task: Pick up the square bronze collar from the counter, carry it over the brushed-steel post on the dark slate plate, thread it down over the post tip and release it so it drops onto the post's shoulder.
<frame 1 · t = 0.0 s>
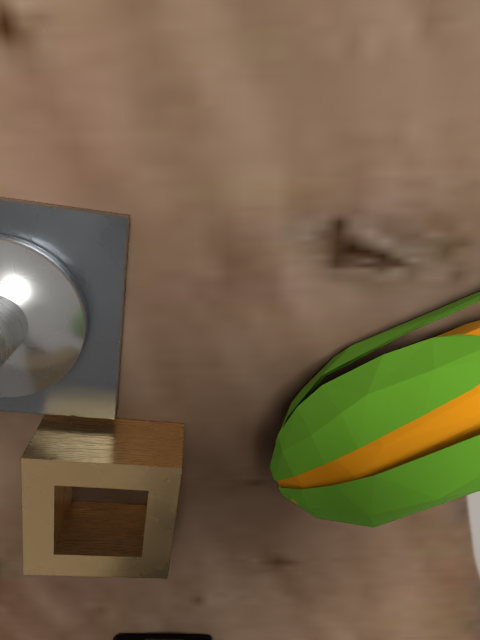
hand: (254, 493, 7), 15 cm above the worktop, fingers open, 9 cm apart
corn: (429, 349, 24), on the worktop
post: (12, 308, 21), on the worktop
collar: (112, 472, 24), on the worktop
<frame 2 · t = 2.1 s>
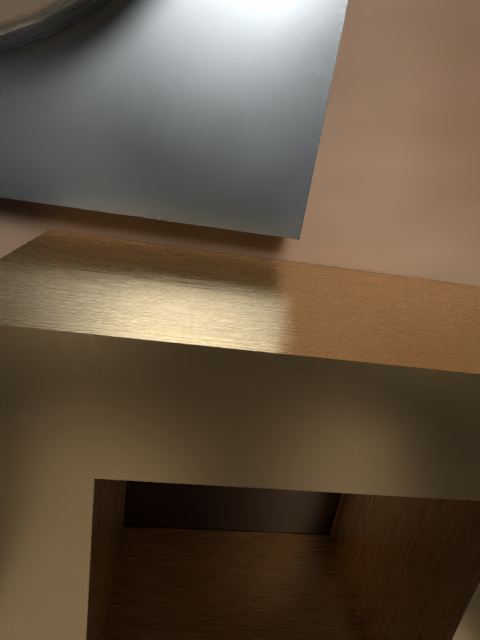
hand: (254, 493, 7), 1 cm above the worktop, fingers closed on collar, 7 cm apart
collar: (246, 444, 8), on the worktop, touching gripper
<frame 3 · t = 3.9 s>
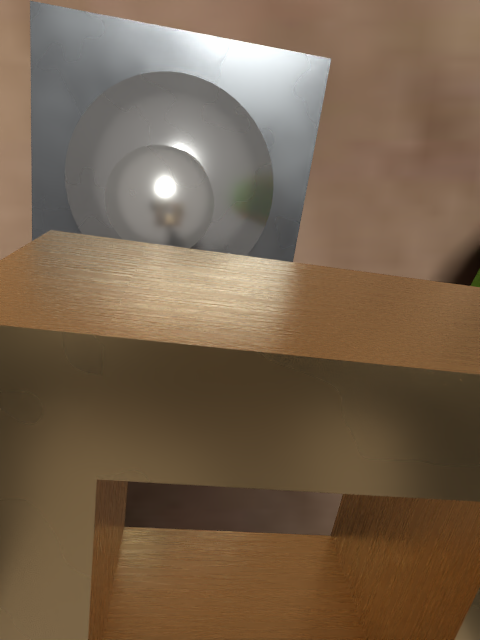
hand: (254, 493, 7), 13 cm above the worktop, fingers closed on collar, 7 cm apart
post: (174, 184, 17), on the worktop
collar: (247, 445, 8), point 11 cm above the worktop, touching gripper
when the fingers open (7 cm above the worktop, at t = 5.8 s): collar drops 4 cm, resting on post.
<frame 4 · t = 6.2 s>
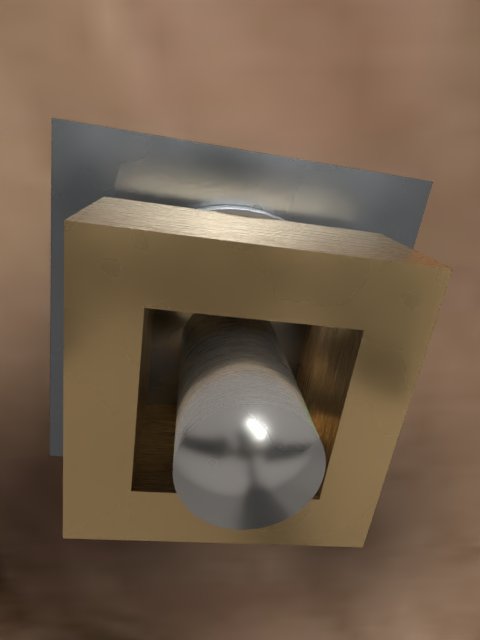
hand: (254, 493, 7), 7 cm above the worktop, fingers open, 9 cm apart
post: (224, 319, 14), on the worktop
collar: (229, 343, 12), point 2 cm above the worktop, touching post
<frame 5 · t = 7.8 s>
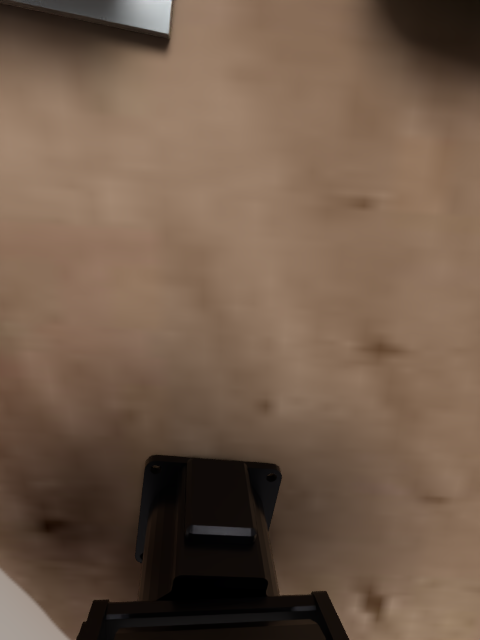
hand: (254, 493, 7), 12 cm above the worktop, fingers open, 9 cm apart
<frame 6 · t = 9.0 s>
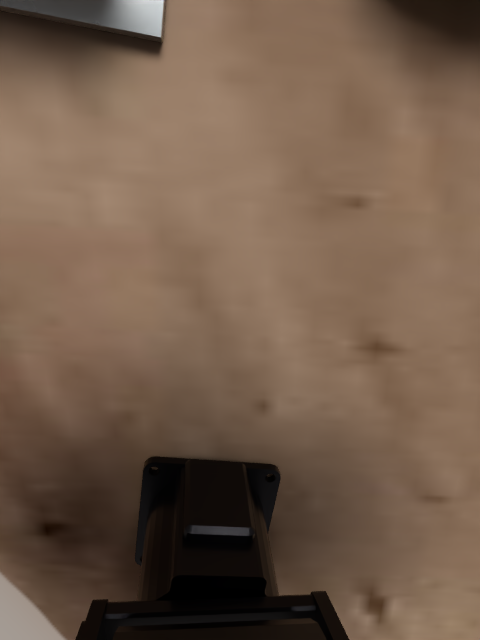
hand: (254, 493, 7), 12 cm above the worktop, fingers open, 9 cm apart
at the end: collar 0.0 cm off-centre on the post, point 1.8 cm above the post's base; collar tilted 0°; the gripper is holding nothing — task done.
